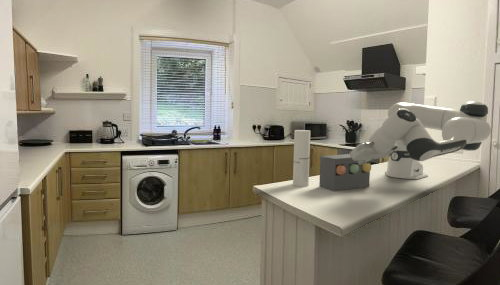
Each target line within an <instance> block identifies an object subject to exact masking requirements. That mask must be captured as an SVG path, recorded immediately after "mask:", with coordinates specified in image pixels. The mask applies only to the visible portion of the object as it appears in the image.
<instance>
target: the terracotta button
mask: <svg viewBox="0 0 500 285" xmlns="http://www.w3.org/2000/svg"><path fill="white" fill-rule="evenodd" d="M345 172H346V168H345V167H344V166H341V165H336V174H339V175H344V174H345Z"/></svg>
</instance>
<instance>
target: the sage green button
mask: <svg viewBox="0 0 500 285" xmlns="http://www.w3.org/2000/svg"><path fill="white" fill-rule="evenodd" d="M358 171H359V166H358V165H356V164H350V165H349V172H350V173H354V174H356V173H357V172H358Z"/></svg>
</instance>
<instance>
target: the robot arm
mask: <svg viewBox="0 0 500 285" xmlns="http://www.w3.org/2000/svg"><path fill="white" fill-rule="evenodd" d="M488 114H489V108H488V106H487V104H485V103H483V102H480V101H476V100H474V101H473V100H472V101H467V102H464V103H463V104H462V105H461V106H460V108H459V110H458V109H454V108H448V107H440V106H434V105H433V106H431V105H426V104H425V105H424V104H416V103H412V102H411V103H410V102H402V101H401V102H396V103H394V104H393V105H391V106H390V107H389V108H388V111H387V116H388V117H387V118H386V119H385V120H384V121H383V122H382V125H381V126H380V127H378V128H377V129H376V130H375V131H374V133H372V135H371V136H370V137H369V138H368V141H369V142H361V143H359V144H357V145H356V146H355V147H354V148H353V149H352V150H351V151H350V152H349V154H350V157H351V158H352V160H353V161H358V160H359V161H358V164H359V165H361V164H365V163H366V162H368V161H370V162H371V161H372V160H375V159H376V160H377V159H385V158H387V157H389V156H390V157H389V158H388V160H387V165H386V166H387V167H386V171H384V174H385V175H386V176H387V177H389V178H390V177H391V178H397V179H408V180H409V179H410V180H420V179H422V178H427V177H428V176H429V174H427V173H425V172H424V166H423V164H422V163H421V162H424V161H427V160H429V159H432V158H435V157H439V156H444V155H448V154H452V153H456V152H458V151H460V150H462V151H467V152H470V151H477V150H478V149H479V148H480V147H481V145H482V143H483V142H484V141H486V140H488V138H489V137H490V135H491V132H492V129H491V125H490V124H489V122H487V121H488V120H487V119H488ZM427 129H430V130H436V131H437V130H438V131H441V137H442V141H436V140H435V139H434V138H432V137H431V134H430V133H429V132H428V131H427Z"/></svg>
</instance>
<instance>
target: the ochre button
mask: <svg viewBox="0 0 500 285" xmlns="http://www.w3.org/2000/svg"><path fill="white" fill-rule="evenodd" d="M362 171H364V172H370V173H371V171H372V164H371V163H370V164H369V163H365V164H362Z"/></svg>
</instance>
